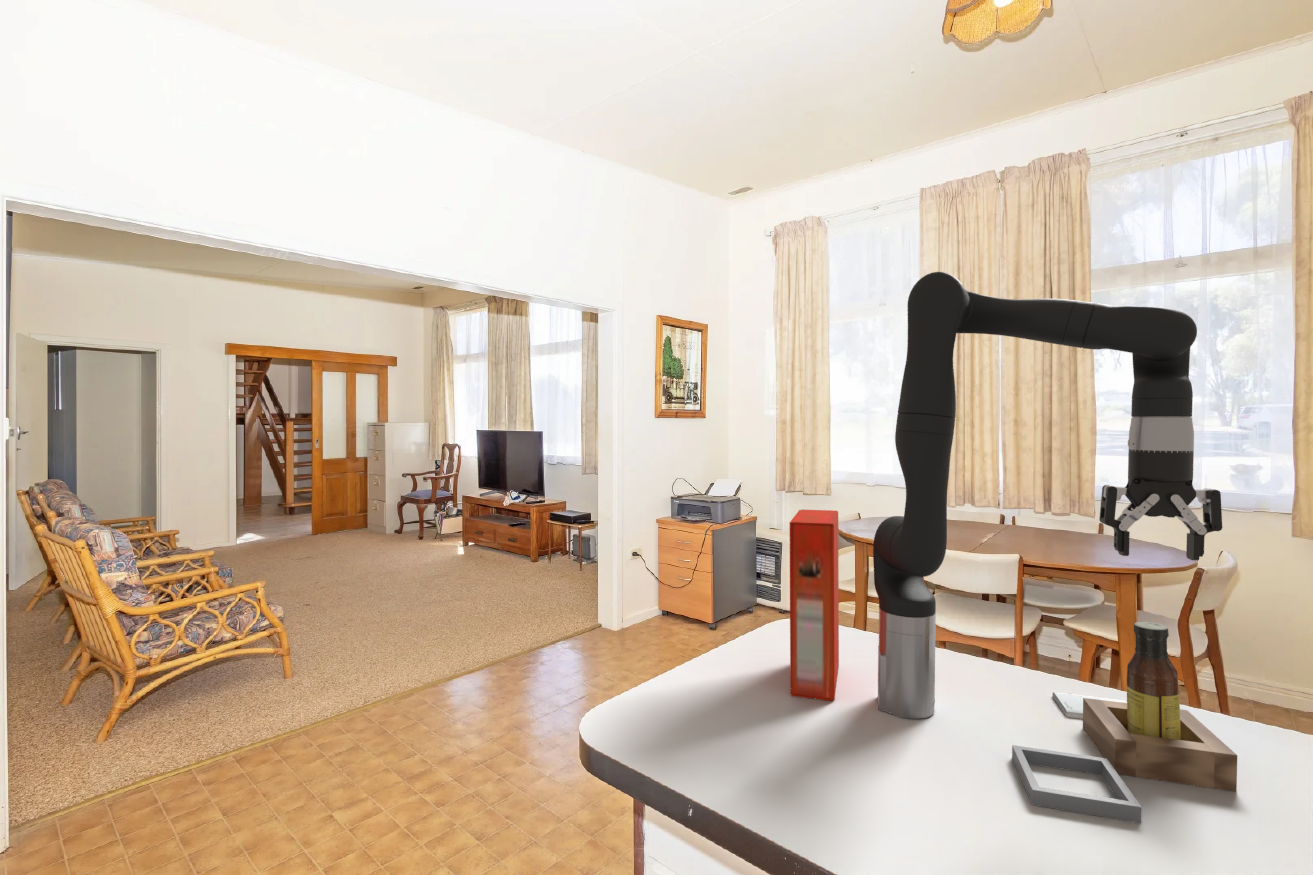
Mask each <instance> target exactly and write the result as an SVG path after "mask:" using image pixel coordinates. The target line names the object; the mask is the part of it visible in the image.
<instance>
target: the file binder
mask: <svg viewBox="0 0 1313 875" xmlns="http://www.w3.org/2000/svg"><path fill="white" fill-rule="evenodd" d="M839 580H840V579H839V511H838V510H831V509H830V510H826V509H799V510H798V511H797V512H796V513H795V515H794V516H793V517H792V518H791V520H790V521H789V633H790V634H789V640H790V641H789V644H790V645H789V651H790V652H789V653H790V654H789V657H790V658H789V660H790V663H789V665H790V667H789V671H790V672H789V673H790V675H789V676H790V686H789V687H790V690H789V691H790V695H791V697H795V696H796V698H803V697H804V698H805V699H811V698H816V699H815V700H819V699H822V700H821V701H827V702H828V701H829V702H832V701H835V698H836V691H837V682H838V674H839V668H840V667H839V666H840V650H839V648H840V647H839V645H840V644H839V643H840V642H839V641H840V635H839V634H840V633H839V632H840V631H839V629H840V628H839V626H840V625H839V624H840V623H839V622H840V621H839V619H840V618H839V613H840V610H839V608H840V607H839V602H840V600H839V598H840V597H839V594H840V593H839V589H840V588H839V586H840V585H839Z"/></svg>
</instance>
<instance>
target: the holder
mask: <svg viewBox="0 0 1313 875" xmlns="http://www.w3.org/2000/svg"><path fill="white" fill-rule="evenodd" d="M1082 729H1083V731H1084V732H1085V734H1086V735H1087V737H1088V738H1089V740H1091V742H1092V743H1093V745H1094V746H1095V748H1096V749H1097V750H1098V752H1099V753H1100V754H1101V756H1102V758H1107V759H1108V761H1109V762H1110V764H1111V765H1112V766H1113V768H1114V769H1115V771H1116V772H1117V773H1118V775H1121V776H1122V775H1123V776H1128V777H1135V778H1136V777H1137V778H1142V779H1148V780H1156V781H1162V782H1163V781H1164V782H1170V783H1175V784H1184V785H1190V786H1196V787H1202V788H1203V787H1204V788H1209V789H1217V790H1223V791H1230V792H1235V793H1236V792H1237V791H1238V790H1237V787H1238V786H1237V785H1238V784H1237V781H1238V780H1237V778H1238V754H1237V753H1236V752H1234V751H1233V750H1232V749H1231V748H1230V747H1229V746H1228V745H1227V744H1225V743H1224V742H1223V741H1222V740H1221V739H1220V738H1219V737H1218V736H1216V735H1215V734H1214V732H1212V731H1211V730H1210V729H1209V728H1208V727H1206V725H1204V724H1203V723H1202V722H1201V721H1200V720H1199V719H1198V718H1196V717H1195V715H1193V714H1192V713H1191V712H1190V711H1189V710H1187V709H1181V708H1180V731H1181V740H1176V739H1168V738H1161V737H1153V736H1145V735H1138V734H1130V733H1129V732H1128V717H1127V703H1122V702H1113V701H1105V700H1097V699H1088V698H1083V719H1082Z"/></svg>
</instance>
